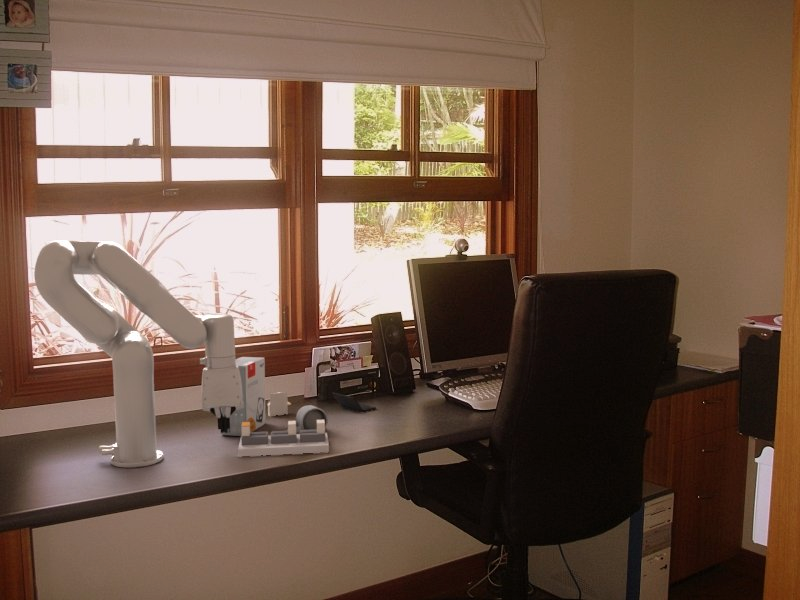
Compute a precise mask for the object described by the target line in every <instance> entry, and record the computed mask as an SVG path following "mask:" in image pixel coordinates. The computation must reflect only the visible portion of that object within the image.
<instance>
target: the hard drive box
mask: <svg viewBox="0 0 800 600" xmlns="http://www.w3.org/2000/svg"><path fill="white" fill-rule="evenodd" d="M235 359H236V366H238V367H239V371H240V376H241V383H242V393H243V398H242V400H243V403H244V408H242V409H239V410H235V411H234V412H233V413H232V414H231V416H230V429H228V431H227V433H225V432H224V433H221V432H220V435H221V436H232V437H233V436H234V437H235V436H236V437H238V436H239V437H242V428H241V425H242V422H250V432H256V430H258V429H259V428H261V427H262V426H264V425H265V424H266V422H267V421H266V420H267V419H266V375H265V374H266V371H265V370H266V369H265V367H266V366H265V365H266V364H265V363H266V361H265V357H255V356H254V357H253V356H241V357H238V358H235ZM220 408H221V413H222V414H223V416H224V415H225V413H226V407H220Z"/></svg>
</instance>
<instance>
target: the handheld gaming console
mask: <svg viewBox="0 0 800 600" xmlns="http://www.w3.org/2000/svg"><path fill="white" fill-rule="evenodd" d="M332 396H333V397H334V398H335V400H336V401H337V402H338V404H339V405H340V407H339V408H342V407H343V409H346V408H347V410H350V409H351V410H350V411H353V410H356V411H355V412H357V411H359V412H358V413H361V412H364V413H367V411H368V412H372V411H371V410H373V411H376V410H377V407H376V406H373V405H369V404H365V403H360V402H358V400H357V399H356V398H355V397H354V396H353V397H352V396H349V395H345V394H343V393H342V394H341V393H337V392H332ZM375 409H376V410H375Z"/></svg>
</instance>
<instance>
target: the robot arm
mask: <svg viewBox="0 0 800 600" xmlns="http://www.w3.org/2000/svg"><path fill="white" fill-rule="evenodd" d="M33 274H34V275H33V276H34V283H35V286H36V289H37V290H38V291H37V292H38V293H39V295H40V296H41V298H42V299H43V300H44V302H46V304H47V305H49V306H50V308H51V309H53V310H54V311H55V312H56V313H57V314H59V316H61V318H62V319H63V320H64V321H66V322H67V323H68V324H69V325H70V326H71V327H72V328H74V329H75V330H76V331H77V332H78V333H79V334H80V335H81V337H83V338H84V339H85V340H86V341H87V342H89V343H91V344H93V345H96V346H97V347H99V348H100V349H101V350H102V351H103V352H104V353H106V355H108V356H109V357H110V358H111V361H112V362H111V363H112V379H113V383H112V384H113V398H114V399H113V401H114V417H115V418H114V419H115V439H116V441H115V443H112V445H99V447H98V452H99V454H101V456H109V455H111V457H110V464H111V465H112V466H114V467H117V468H127V469H128V468H129V469H130V468H140V467H141V468H142V467H147V466H152V465H154V464H156V463H159V462H161V461H162V460H163V459H164V453H163V451H161V450H158V447H157V445H158V444H157V424H156V423H157V422H156V402H155V401H156V398H155V383H154V382H155V379H154V378H155V377H154V376H155V373H154V372H155V358H154V357H155V356H154V352H153V348H152V346H151V344H150V342H149V341H148V339H147V338H146V337H145V335H143V334H142V333H141V332H140V331H139V330H138V329H136V327H134V326H133V325H132V324H131V323H130V322H129V321H128V320H127V319H125V318H124V316H122V315H121V314H120V313H119V312H118V311H116V309H115V308H113V306H110V305H109V304H106V303H104V302H100V301H99V300H98V299H97V298H96V297H95V296H94V295H92V294H91V293H90V291H88V290H87V288H85V287H84V286H83V285H81V284H80V283H79V281H78V280H77V279H76V277H75V275H81V276H82V275H89V276H90V275H91V276H92V275H94V276H95V275H99V276H100V277H101V278H102V279H103V280H105V281H106V282H107V284H108V285H111V286H112V287H113V288H114V289H115V290H116V291H118V292H119V293H120V294H121V295H122V296H123V297H124V298H125V300H127V301H129V302H130V304H132V305H133V306H134V307H136V309H138V311H140V312H141V313H142V314H144V315H145V316H147V317H148V318H149V319H151V320H152V321H153V322H154V323H155V324H156V325H157V326H159V328H161V329H162V330H163V331H164V332H165V333H166V334H168V336H170V337H171V338H172V339H173V340H174V341H176V343H178V345H180V346H181V347H183V348H185V349H188V350H192V349H198V348H200V347H201V346H202V345H203V344H204V349H205V350H204V352H205V356H204V357H203V358H199V364H200V365H204V366H205V367H204V368H203V369H202V373H201V404H202V406H201V410H202V411H204V412H210V413H211V414H212V415H214V416H215V417H216V419H217V429H218V430H220V434H221V433H224V432H225V433H227V431H228V429H230V416H231V414H232V413H233V412H234V411H235V410H239V409H242V408H244V403H243V400H242V398H243V393H242V383H241V376H240V371H239V367H238V366H236V359H237V358H236V345H235V344H236V343H235V324H234V323H235V322H234V317H233V316H232V315H230V314H227V313H216V314H215V313H214V314H209V315H195V314H193V313H191V311H189V309H187V308H186V307H185V306H184V305H183V304H182V303H181V302H180V301H178V300H177V299H176V297H174V296H173V294H171V292H169V290H168V289H167V287H166V286H165V285H164V284H163V283H162V282H161V281H160V280H159V279H158V278H156V276H155V275H153V274H152V272H150V271H149V270H147V269H146V267H144V266H143V265H142V264H141V263H140V262H139V261H138V260H136V258H135V257H133V256H132V255H131V254H130V253H129V252H128V251H127V250H126V249H124V247H122V245H120V244H119V243H116V242H114V241H107V240H106V241H104V240H103V241H92V240H91V241H87V240H62V239H60V240H59V239H58V240H57V239H56V240H52V241H50V242H48V243H47V244H45V245H44V246H42V248H41V249H40V251H39V253H38V256H37V258H36V262H35V267H34V273H33ZM221 407H226V413H225V415H224V416H223V414H222V413H221Z"/></svg>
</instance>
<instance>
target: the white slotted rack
mask: <svg viewBox="0 0 800 600" xmlns="http://www.w3.org/2000/svg"><path fill="white" fill-rule="evenodd" d="M296 421H297V420H288V422H287V428H288V431H287V430H272V431H271V432H270V434H269V431H253V432H250V436H240V440H239V444H238V448H237V458H243V457H242V456H250V457H265V456H266V455H271V456H284V455H283V454H292V455H304V454H303V453H313V454H321V453H320V452H325V453H324V454H326V453H327V454H329V453H330V445H329V438H328V432H326V428H325V422H324V420H317V429H313V430H300V432H299V433H297V434H296V428H297V427H296ZM328 452H329V453H328ZM261 455H263V456H261ZM266 457H267V456H266Z"/></svg>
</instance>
